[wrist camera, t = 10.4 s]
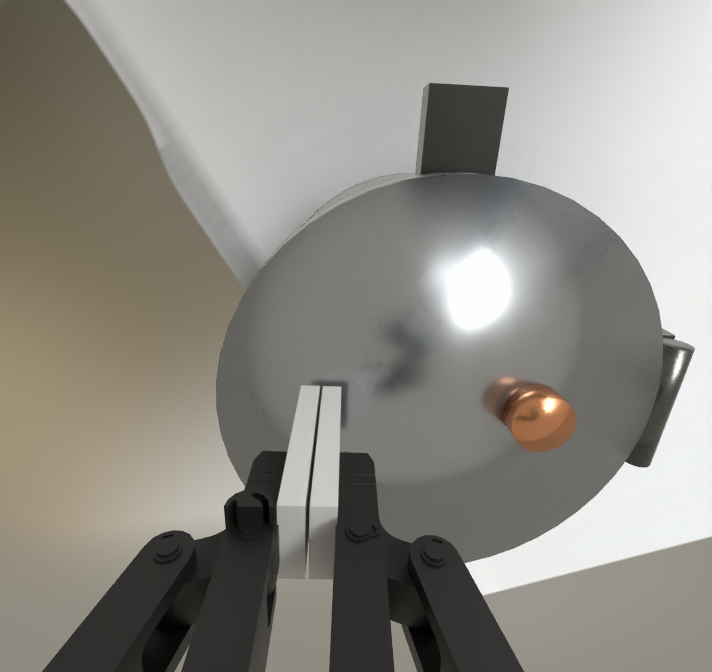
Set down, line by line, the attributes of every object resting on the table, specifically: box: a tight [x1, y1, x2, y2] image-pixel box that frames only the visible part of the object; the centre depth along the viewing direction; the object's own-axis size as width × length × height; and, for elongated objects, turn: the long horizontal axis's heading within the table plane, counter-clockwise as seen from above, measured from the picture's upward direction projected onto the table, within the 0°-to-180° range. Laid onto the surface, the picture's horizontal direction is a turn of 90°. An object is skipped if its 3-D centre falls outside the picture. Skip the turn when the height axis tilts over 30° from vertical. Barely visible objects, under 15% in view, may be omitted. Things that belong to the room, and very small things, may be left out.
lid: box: [216, 172, 695, 563], centre depth 19 cm, size 19×20×2 cm
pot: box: [310, 83, 675, 340], centre depth 26 cm, size 25×20×12 cm
